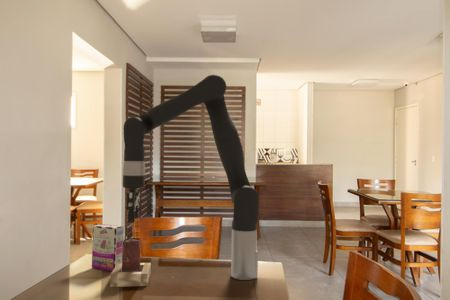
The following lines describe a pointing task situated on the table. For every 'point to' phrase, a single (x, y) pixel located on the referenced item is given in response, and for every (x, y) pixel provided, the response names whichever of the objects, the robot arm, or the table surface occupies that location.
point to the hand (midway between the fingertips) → (133, 220)
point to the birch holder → (130, 276)
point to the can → (131, 255)
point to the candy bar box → (107, 246)
